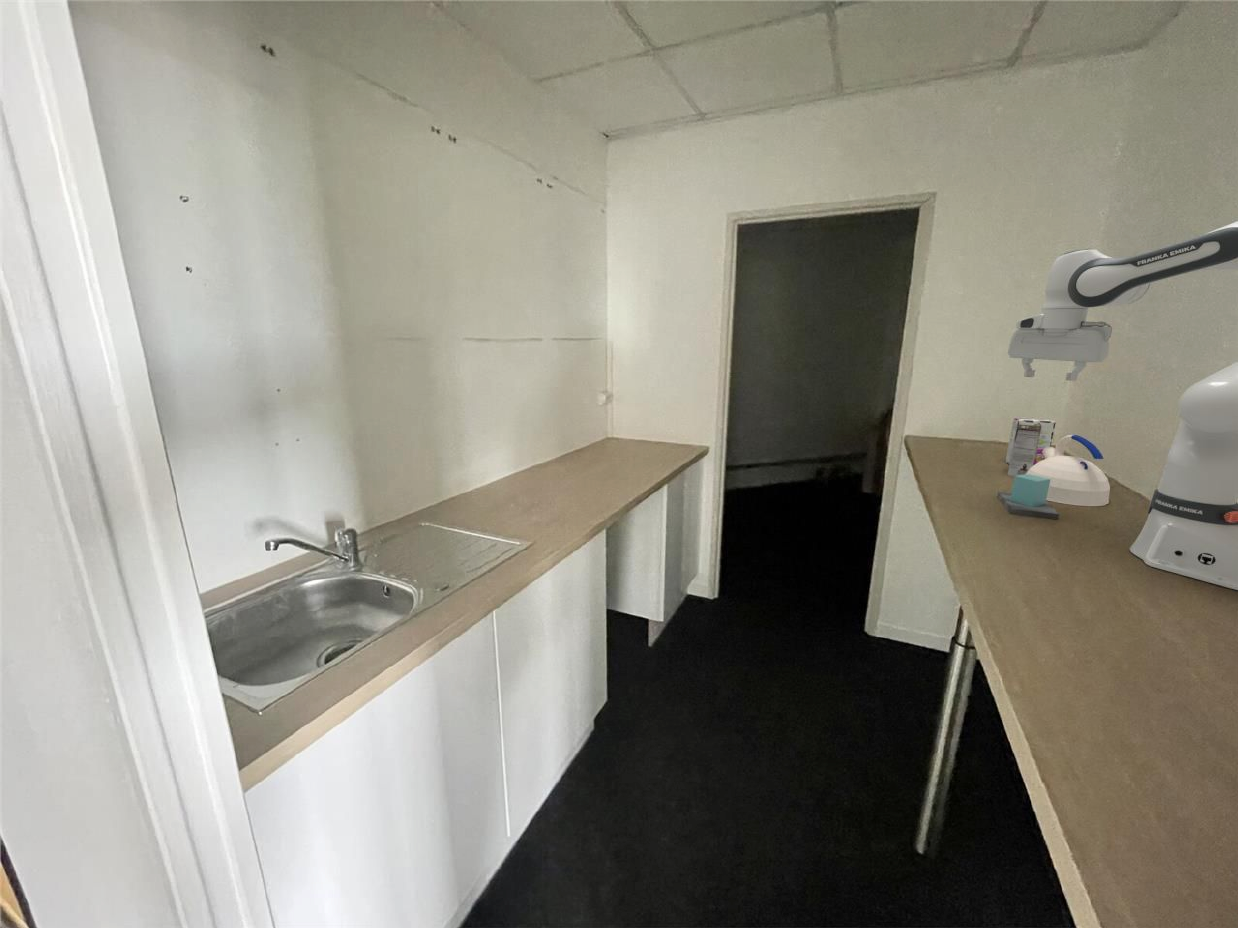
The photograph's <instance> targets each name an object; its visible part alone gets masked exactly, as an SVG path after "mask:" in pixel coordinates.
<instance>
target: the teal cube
mask: <svg viewBox="0 0 1238 928" xmlns="http://www.w3.org/2000/svg"><path fill="white" fill-rule="evenodd" d="M1050 480H1051V479H1047V478H1043V477H1039V476H1035V475H1031V474H1024V475H1018V476H1014V477H1013V484H1012V488H1011V492H1010V493H1011V497H1010V501H1014V502H1017V503H1021V504H1024V505H1028V506H1031V507H1033V506H1038V505H1043V504H1045V502H1047V500H1046V497H1047V493H1048V489H1049V484H1050Z"/></svg>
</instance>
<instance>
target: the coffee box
mask: <svg viewBox="0 0 1238 928" xmlns="http://www.w3.org/2000/svg"><path fill="white" fill-rule="evenodd" d="M1040 433H1041V426H1031V425H1019V424H1018V425H1017V429H1016V433H1015V438H1014V443H1013V448H1012V453H1011V458H1010V463H1009V464H1008V468H1007V469H1008V471H1007V476H1010V477H1015V476H1018V475H1024V474H1026V473H1027V472H1028V470H1029V469H1030V468H1031V467H1032V466H1033V465H1034V461H1035V456H1036V452H1037V448H1038V443H1039V438H1040Z"/></svg>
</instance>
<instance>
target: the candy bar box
mask: <svg viewBox="0 0 1238 928" xmlns="http://www.w3.org/2000/svg"><path fill="white" fill-rule="evenodd" d="M1056 422H1057V421H1055V420H1053V419H1043V418H1042V419H1041V418H1013V421H1012V426H1011V431H1010V436H1009V441H1008V447H1007V451H1006V452H1007V453H1006V458H1005V463H1006V464H1008V465H1009V463H1010V458H1011V453H1012V448H1013V443H1014V438H1015V433H1016V429H1017V425H1018V424H1019V425H1031V426H1041V433H1040V438H1039V443H1038V448H1037V452H1036V456H1035V461H1034V465H1035V464H1036V463H1038V462H1040V461H1042V460H1045V457H1044V454H1043V453H1042V451H1043V449H1045V448H1047V447H1052V442H1053V437H1054V433H1055V429H1056V424H1057V423H1056ZM1034 465H1033V466H1034Z"/></svg>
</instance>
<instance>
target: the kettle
mask: <svg viewBox="0 0 1238 928" xmlns="http://www.w3.org/2000/svg"><path fill="white" fill-rule="evenodd" d="M1071 440H1074V441H1077V442H1079V443H1080V444H1081V445H1083V446H1084V447H1085V448H1086V449H1087V450H1088V451H1089V452H1090V454H1091V456H1092V458H1093V459H1094V460H1104V458H1105V457H1103V454H1102V453H1101V452H1100V450H1099V449H1098V448H1097V446H1096V445H1095V444H1093V443H1092V442H1091V441H1090V440H1088V439H1087V438H1085V437H1083V436H1080V435H1078V434H1070V435H1069V434H1068V435H1065V436H1064V437H1062V438H1060V440H1058V442H1057V444H1056V445H1055V446H1054V447H1053V446H1051V447H1047V448H1045V449H1043V451H1042V453H1043V454H1044V457H1045V460H1042V461H1040V462H1038V463H1036V464H1035V465H1034V466H1032V467H1031V468H1030V469H1029V470H1028V472H1027V473H1026V474H1031V475H1035V476H1039V477H1043V478H1047V479H1051V480H1050V484H1049V489H1048V493H1047V497H1046V502H1053V503H1056V504H1057V503H1058V504H1063V505H1070V506H1078V507H1102V506H1103V507H1104V506H1106V505H1108V504H1109V501H1110V500H1109V498H1110V492H1111V491H1110V490H1111V486H1110V483H1109V482H1110V481H1109V479H1108V477H1107V476H1106V475H1105V474H1106V473H1104V472H1103V471H1102V470H1101V469H1100V468H1099V467H1098V466H1097V465H1096V464H1094V462H1091V461H1089V460H1086V459H1084V458H1082V457H1078V456H1074V455H1073V456H1071V455H1065V454H1064V453H1065V448H1066V446H1067V444H1068V443H1069V442H1070V441H1071Z"/></svg>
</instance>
